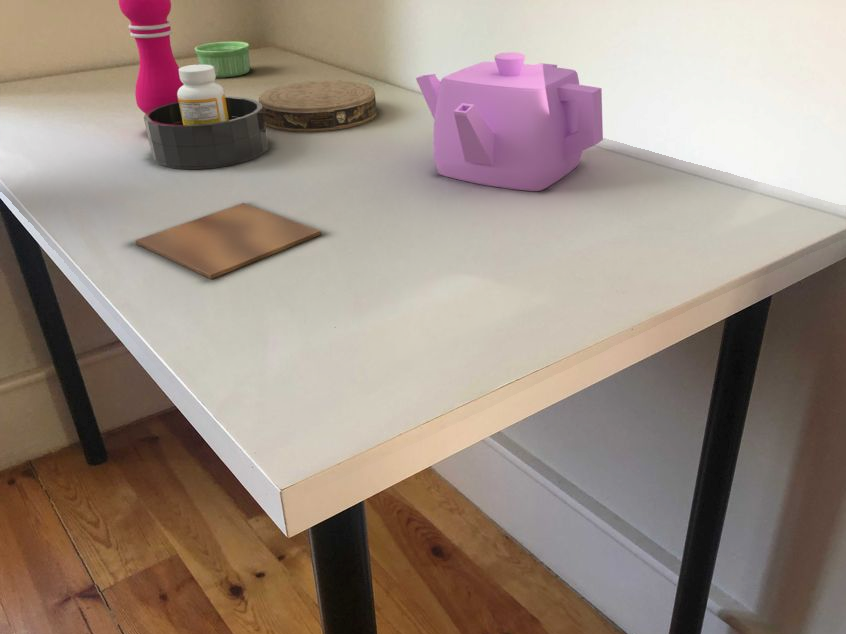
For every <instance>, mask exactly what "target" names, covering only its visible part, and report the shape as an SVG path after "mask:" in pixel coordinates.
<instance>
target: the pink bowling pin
mask: <svg viewBox="0 0 846 634" xmlns="http://www.w3.org/2000/svg"><path fill="white" fill-rule="evenodd" d="M118 6H119V9H120V12H121V13H122V14H123V15H124V16H125V18H127V20H129V22H130V23H129V24H128V29H129V31H130V33H129V34H130V37H132V38H134V40H135V43H136V46H137V50H138V56H139V67H138V68H139V69H138V75H137V79H136V83H135V90H134V96H135V102H136V106H137V107H138V109H139V110H140V111H141V112H142V113H144V114H145V113H146V112H148V111H150V110H151V109H153V108H155V107H158V106H161V105H164V104H168V103H172V102H176V101H178V95H177V93H178V90H179V88H180V87H182V86H183V85H184V83H183V82H181V80H180V76H179V68H180V66H179V64H178V62H177V60H176V59H175V56H174V54H173V50H172V45H171V36H170V35H172V34H173V29H172V27H171V25H172V22H170V21H169V20H168V16H169V14H170V13H171V10H172V2H171V0H118Z"/></svg>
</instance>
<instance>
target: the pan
mask: <svg viewBox="0 0 846 634" xmlns="http://www.w3.org/2000/svg"><path fill="white" fill-rule="evenodd" d="M225 100H226V106H227V113H228V119H229V120H228V121H222V122H215V123H208V124H196V125H183V121H182V116H181V111H180V106H179V101H176V102H172V103H168V104H164V105H161V106H158V107H155V108H153V109H151V110H150V111H148V112H146V113H144V116H143V121H144V126H145V130H146V134H147V138H148V142H149V147H150V152H151V156H152V158H153V160H154V162H155V163H156V164H158V165H160V166H162V167H166V168H171V169H177V170H206V169H207V170H208V169H217V168H224V167H225V168H226V167H230V166H234V165H235V166H236V165H240V164H243V163H246V162H249V161H253V160H254V159H257V158H258V157H261V156H262V155H264V154H265V153H266V152H267V150H268V149H269V142H268V135H267V128H266V125H265V121H264V115H263V108H262V104H261V103H259V100H256V99H251V98H248V97H242V96H241V97H240V96H225Z"/></svg>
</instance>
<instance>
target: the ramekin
mask: <svg viewBox="0 0 846 634" xmlns="http://www.w3.org/2000/svg"><path fill="white" fill-rule="evenodd" d="M194 52H195V54H196V57H197V60H198V63H199V65H211V66H213V67H214V70H215V75H216V77H215V79H221V78H222V79H223V78H233V77H239V76H242V75H245V74H248V73H249V72H250V70H251V63H250V44H249V43H248V42H246V41H245V42H244V41H233V40H232V41H217V42H209V43H204V44H200V45H197V46H195V47H194Z"/></svg>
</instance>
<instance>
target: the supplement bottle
mask: <svg viewBox="0 0 846 634" xmlns="http://www.w3.org/2000/svg"><path fill="white" fill-rule="evenodd" d="M179 76H180V80H181V82H183V83H184V85H183V86H182V87H180V88H179V90H178V93H177V95H178V101H179V106H180V111H181V116H182V121H183V125H196V124H208V123H215V122H222V121H228V120H229V119H228V113H227V106H226V100H225V97H226V94H225V90H224V88H223V87H222V86H221V85H220V84H219V83H217V82H215V80H216V78H215V77H216V75H215V70H214V67H213V66H211V65H200V64H189V65H183V66H181V67H179Z"/></svg>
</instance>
